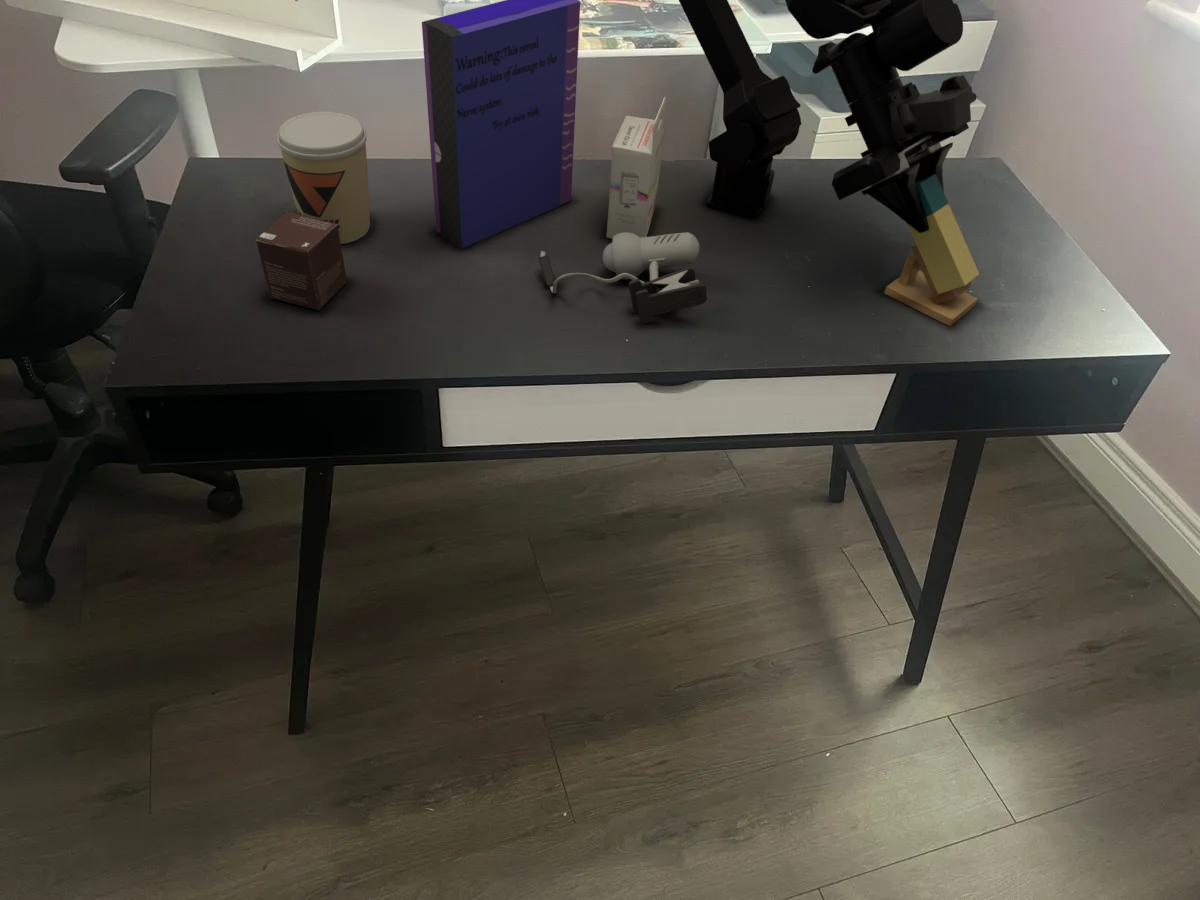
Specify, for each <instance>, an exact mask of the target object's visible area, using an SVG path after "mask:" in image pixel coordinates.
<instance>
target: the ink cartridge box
mask: <svg viewBox="0 0 1200 900" xmlns="http://www.w3.org/2000/svg"><path fill="white" fill-rule="evenodd" d="M666 110H667V98H666V96H664V97H663V98H662V101H661V105H660V107H659V109H658V112H657V113H656V117H655V119H650V118H644V117H637V116H632V115H625V117H624V119H623V121H622V124H621V125H620V128H619V130H618V132H617V134H616V136H615V139H614V141H613V143H612V144H611V160H610V176H609V194H608V195H609V196H608V209H607V223H606V224H607V225H606V236H605V237H606V239H612V240H613V236H615V235H616V234H619V233H624V232H628V233H633V234H635V235H637V236H639V237H640V238H642V237H648V233H649V230H650V227H651V223H652V221H653V217H654V214H655V213H654V212H655V210H656V204H657V196H658V188H659V187H658V186H659V179H660V172H661V164H662V163H661V162H662V154H663V147H664V138H665V131H666V130H665V129H666V114H667V111H666Z"/></svg>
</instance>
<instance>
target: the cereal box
mask: <svg viewBox="0 0 1200 900" xmlns="http://www.w3.org/2000/svg"><path fill="white" fill-rule="evenodd" d="M580 17H581V1H580V0H500V1H498V2H497V1H496V2H494V3H490V4H486V5H481V6H478V7H475V8H474V7H473V8H470V9H466V10H464V11H459V12H455V13H454V12H453V13H451V14H447V15H443V16H439V17H436V18H431V19H428V20H424V21H423V20H422V21H421V31H422V32H421V33H422V45H423V47H422V48H423V59H424V60H423V61H424V72H425V73H424V75H425V89H426V103H427V104H426V105H427V119H428V120H427V121H428V132H429V133H428V134H429V147H430V161H431V174H432V177H431V178H432V186H433V187H432V189H433V202H434V203H433V204H434V218H435V232H436V233H437V234H438V235H440V236H441V237H442V238H444V239H446V240H447V241H449V242H450V243H452V244H453V245H455V246H456V247H458V248H459V249H461V250H465V249H466V248H468V247H471V246H473V245H476V244H478V243H481V242H483V241H484V240H487V239H489V238H491V237H494V236H496V235H499V234H500V233H501V234H502V233H503V232H506V231H507V230H510V229H512V228H514V227H517V226H519V225H521V224H524V223H525V222H528V221H531V220H533V219H535V218H537V217H540V216H542V215H544V214H546V213H549V212H550V211H553V210H556V209H558V208H560V207H562V206H565V205H567V204H570V203H571V202H572V191H573V190H572V188H573V171H574V170H573V167H574V148H575V126H576V125H575V123H576V107H577V106H576V105H577V103H576V102H577V85H578V84H577V81H578V64H579V63H578V62H579V61H578V60H579V58H578V57H579V40H580V39H579V38H580Z"/></svg>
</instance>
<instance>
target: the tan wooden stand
mask: <svg viewBox="0 0 1200 900" xmlns="http://www.w3.org/2000/svg"><path fill="white" fill-rule="evenodd" d="M910 248H911V250H912V251H911V252H909V253H908V254H907V256H906V259H905V262H904V264H903V267H902V270H901V273H900V276H899V277H897V278H896V279H895V280H893V281H892V282H891V283H889V284H888V285H886V287H885V290H884V295H886V296H888V297H891V298H892V299H894V300H896V301H898V302H900V303H902V304H904V305H906V306H908V307H910V308H912V309H914V310H916V311H918V312H919V313H922V314H924V315H926V316H927V317H930V318H932V319H934V320H936V321H938V322H940V323H942V324H944V325H946V326H948V327H951V326H952V325H954V324H955V323H956V322H957V321H958V320H959V319H960V318H962V317H963V316H964V315H965V314H967V313H968V312H969V311H971V309H972V308H974V307H975V306H976V304H977V302H978V298H977V297H976V296H973V295H971V294H969V293H967V292H966V291H967V290H968V289H970V288H971V287H972V284H971V281H970V282H969V283H968V284H966V285H965V286H962V287H959V288H956V289H953V290H950V291H947V292H944V293H941V294H938V292H937V290H936V288H935V286H934V283H933V281H932V279H931V277H930V274H929V272H928V270H927V268H926V266H925V263H924V261H923V259H922V257H921V254H920V252H919V250H918V248H917V245H916V243H915V242H914V243H912V244H911V245H910Z"/></svg>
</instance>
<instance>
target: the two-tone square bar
mask: <svg viewBox="0 0 1200 900" xmlns="http://www.w3.org/2000/svg"><path fill="white" fill-rule="evenodd" d="M915 184H916V187H917V190H918V193H919V196H920V199H921V202H922V205H923V208H924V211H925V214H926V217H927V221H928V225H929V229H928V230H927V231H925V232H922V233H919V232H918V231H917V230H915V229H914V228H913V227H911V226H910V225H909V224H908V223H906V225H907V227H908V228H907V229H908V230H909V232H910V234H911V237H912V239H913V241H914V243H916V245H917V248H918V250H919V252H920V254H921V257H922V259H923V261H924V263H925V266H926V268H927V270H928V272H929V274H930V277H931V279H932V281H933V283H934V286H935V288H936V290H937V292H938V294H941V293H944V292H947V291H950V290H953V289H956V288H959V287H962V286H965V285H966V284H968V283H969V282H970V283H971V281H973V280H974V279H975V278H976V277H978V276H979V275H980V271H979V270H978V267H977V265H976V263H975V260H974V258H973V256H972V253H971V251H970V248H969V247H968V244H967V242H966V239H965V237H964V236H963V233H962V231H961V229H960V226H959V224H958V221H957V219H956V217H955V215H954V212H953V210H952V209H951V208H952V207H951V206H950V203H949V201H948V199H947V196H946V193H945V191H944V192H943V190H942V187H941V185H940V183H939V180H938V178H937V176H936V174H934V175H931V176H929V177H927V178H925V179H922V180H920V181H918V182H916V183H915Z"/></svg>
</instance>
